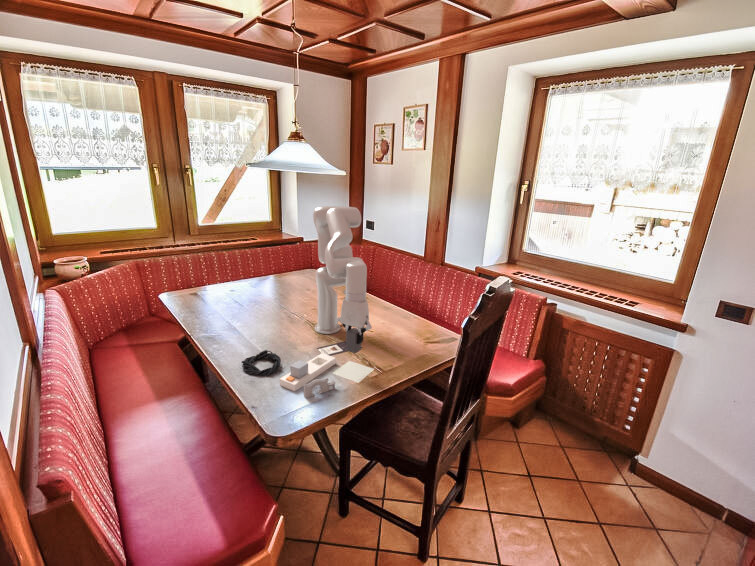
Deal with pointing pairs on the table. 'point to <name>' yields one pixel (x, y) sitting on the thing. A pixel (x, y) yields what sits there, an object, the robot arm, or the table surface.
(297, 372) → the grey plug
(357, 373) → the mat
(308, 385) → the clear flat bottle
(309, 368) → the long white plastic board
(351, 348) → the grey rectangular block
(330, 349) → the chocolate bar
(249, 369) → the cable
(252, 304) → the table surface
